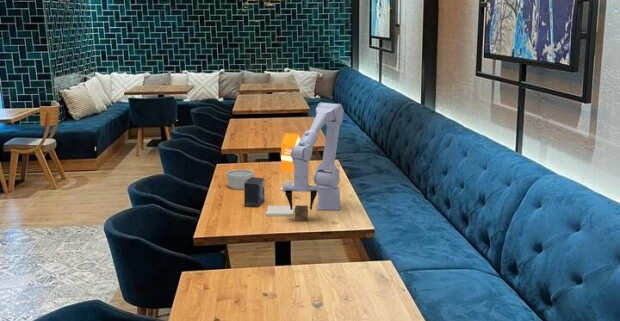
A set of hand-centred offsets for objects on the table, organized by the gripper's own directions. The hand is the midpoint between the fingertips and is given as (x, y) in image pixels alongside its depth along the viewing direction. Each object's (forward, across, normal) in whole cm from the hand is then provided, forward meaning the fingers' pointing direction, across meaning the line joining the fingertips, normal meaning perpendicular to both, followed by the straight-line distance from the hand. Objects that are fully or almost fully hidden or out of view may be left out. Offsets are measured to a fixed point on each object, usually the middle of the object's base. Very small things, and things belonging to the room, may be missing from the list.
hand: (301, 209), depth 234 cm
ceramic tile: (+4, -9, +9) cm, 13 cm away
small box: (+4, -21, +21) cm, 30 cm away
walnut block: (+4, 0, 0) cm, 4 cm away
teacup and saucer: (+5, -5, +45) cm, 45 cm away
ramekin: (+4, -31, +49) cm, 58 cm away
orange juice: (+4, -8, +82) cm, 83 cm away
